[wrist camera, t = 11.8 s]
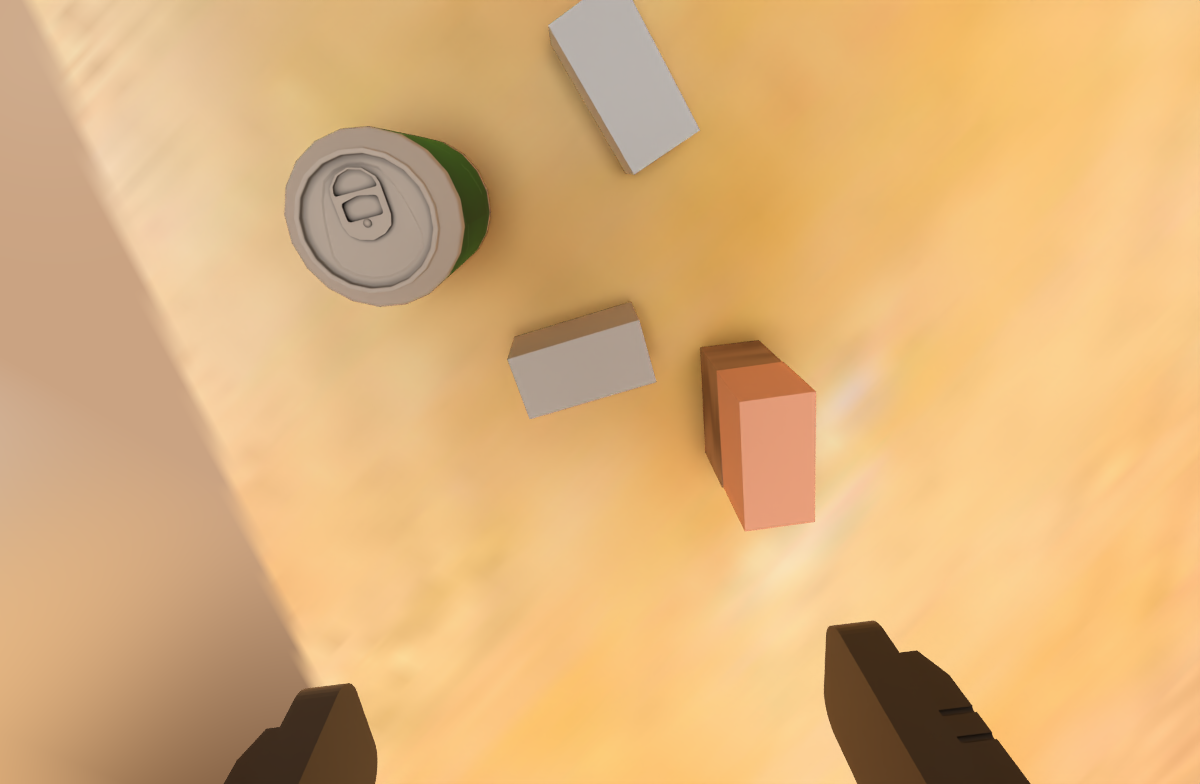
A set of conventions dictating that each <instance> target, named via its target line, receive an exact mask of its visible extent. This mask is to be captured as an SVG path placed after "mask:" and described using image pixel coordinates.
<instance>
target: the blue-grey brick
mask: <svg viewBox="0 0 1200 784" xmlns="http://www.w3.org/2000/svg"><path fill="white" fill-rule="evenodd" d="M548 27H549V34H550V41H551V46H552V47H553V49H554V51H555V53H556V54H557V56H558V58H559V60H560V61H561V63H562V65H563V66H564V68H565V70H566V72H567V73H568V75H569V77H570V78H571V80H572V82H573V84H574V85H575V87H576V89H577V91H578V92H579V94H580V96H581V97H582V99H583V101H584V103H585V104H586V106H587V108H588V109H589V111H590V113H591V115H592V116H593V118H594V120H595V122H596V123H597V125H598V127H599V128H600V130H601V132H602V134H603V135H604V137H605V139H606V140H607V142H608V144H609V146H610V147H611V149H612V151H613V153H614V154H615V156H616V158H617V159H618V161H619V163H620V165H621V166H622V168H623V170H624V171H625V173H626V174H633V175H634V174H636V173H637V172H639V171H640V170H642V169H643V168H645V167H646V166H648V165H649V164H651V163H652V162H654V161H655V160H657V159H658V158H660V157H661V156H663V155H664V154H665V153H667V152H668V151H670V150H671V149H673V148H674V147H676V146H677V145H679V144H680V143H682V142H683V141H685V140H686V139H688V138H689V137H691V136H692V135H694V134H695V133H697V132H698V131H700V129H699V127H698V125H697V123H696V121H695V120H694V118H693V116H692V114H691V112H690V110H689V108H688V106H687V104H686V102H685V100H684V98H683V96H682V94H681V93H680V91H679V89H678V87H677V85H676V83H675V81H674V79H673V77H672V75H671V73H670V71H669V69H668V68H667V66H666V64H665V62H664V60H663V58H662V56H661V54H660V52H659V50H658V48H657V46H656V44H655V43H654V41H653V39H652V37H651V35H650V33H649V31H648V29H647V27H646V25H645V23H644V21H643V19H642V18H641V16H640V14H639V12H638V10H637V8H636V6H635V4H634V2H633V0H582V1H580V2H579V3H578V4H576V5H575V6H574V7H572V8H571V9H570V10H568V11H567V12H566V13H564V14H563V15H562V16H560V17H559V18H557V19H556V20H555V21H553V22H552V23H551V24H549V25H548Z"/></svg>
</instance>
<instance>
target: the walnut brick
mask: <svg viewBox="0 0 1200 784" xmlns="http://www.w3.org/2000/svg"><path fill="white" fill-rule="evenodd" d="M700 353H701V373H702V393H703V414H704V434H705V453H706V455H707V457H708V459H709V461H710V463H711V465H712V467H713V469H714V471H715V474H716V476H717V478H718V480H719V482H720V484H721V486H722V487H723V474H722V457H721V440H720V422H719V405H718V388H717V371H718V370H725V369H733V368H740V367H747V366H754V365H762V364H769V363H776V362H782V361H781V360H780V359H779V358H777V357H776V356H775V355H774V354H773V353H772V352H771V351H770V350H769V349H768V348H767V347H765V346H764V345H763V344H762V343H761V342H760V341H759V340H758V341H750V342H741V343H733V344H725V345H716V346H708V347H700Z"/></svg>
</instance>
